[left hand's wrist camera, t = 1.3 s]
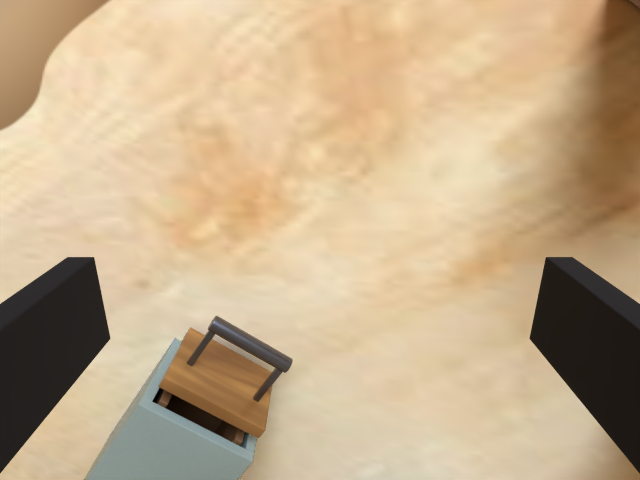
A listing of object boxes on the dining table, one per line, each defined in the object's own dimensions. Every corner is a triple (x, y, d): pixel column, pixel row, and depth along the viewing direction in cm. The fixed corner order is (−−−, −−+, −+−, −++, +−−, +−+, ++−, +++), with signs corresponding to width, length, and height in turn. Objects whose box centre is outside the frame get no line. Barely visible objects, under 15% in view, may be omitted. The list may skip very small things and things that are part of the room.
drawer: (218, 286, 42) (196, 330, 34) (303, 336, 44) (300, 388, 36) (126, 421, 47) (91, 483, 40) (205, 459, 49) (185, 525, 42)
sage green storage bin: (175, 338, 45) (138, 403, 36) (265, 387, 47) (253, 461, 38) (110, 435, 49) (62, 515, 40) (195, 476, 52) (169, 561, 42)
